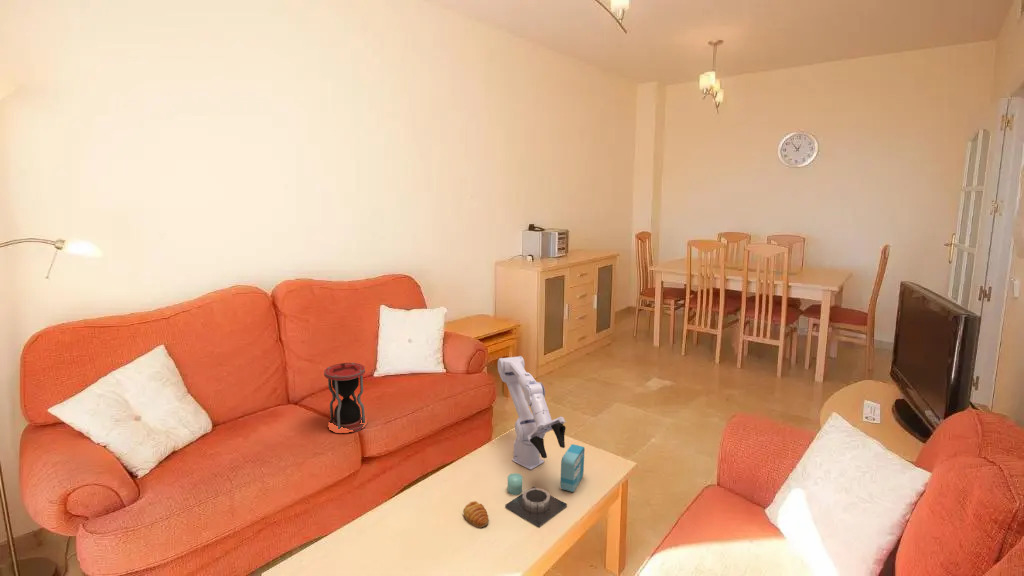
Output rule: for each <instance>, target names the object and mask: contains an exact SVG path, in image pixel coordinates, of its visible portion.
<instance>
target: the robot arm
mask: <svg viewBox="0 0 1024 576" xmlns="http://www.w3.org/2000/svg"><path fill="white" fill-rule="evenodd" d="M525 365H526V363H525V359H524V358H523V356H522V355H519V356H510V357H499V358H498V360H497V372H498V374H499V377H500V379H501V382H503V383H505V384H506V386H507V389H508V392H509V395H510V397H511V400H512V402H513V405H514V407H515V411H516V413H517V416H518V418H517V419H516V420H515V424H514V431H515V435H516V436H515V437H516V438H515V439H514V442H513V458H512V459H511V461H512V462H514V463H515V464H518V465H520V466H522V467H524V468H526V469H528V470H531V471H532V470H534V469H535V468H536V467H539V466H540V465H542V464H544V462H545V460H544V459H547V458H548V456H547V455H548V454H547V452H546V449H545V439H544V438H545V436H546V434H547V433H549V432H550V431H553V433H554V435H555V437H556V439H557V443H558V446H559V447H560V448H561V449H564V448H565V447H566V444H565V443H566V442H565V434H566V430H567V429H566V425H564V424H565V423H566V420H565V417H563V416H559V417H557V418H554V419H552V416H551V414H550V409H549V407H548V404H547V401H546V399H545V398H546V389H545V386H544V384H543V382H541V381H538V382H537V381H536V379H535V378H534V377H533V374H531V373H529V372H527V371H526V369H525V368H526V367H525ZM540 457H541V458H540Z"/></svg>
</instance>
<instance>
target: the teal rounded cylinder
mask: <svg viewBox="0 0 1024 576" xmlns="http://www.w3.org/2000/svg"><path fill="white" fill-rule="evenodd" d="M523 478H524V477H523V475H522V474H520V473H516V472H514V473H509V474H508V475H507V493H508V494H509V495H512V496H520V495H521V494H523Z"/></svg>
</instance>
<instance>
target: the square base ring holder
mask: <svg viewBox="0 0 1024 576" xmlns="http://www.w3.org/2000/svg"><path fill="white" fill-rule="evenodd" d="M567 507H568V504H567V503H566V502H564V501H562V500H560V499H558V498H557V497H554V496H552V495H550V493H549V492H548V490H546V489H545V490H544V489H543V488H537V487H536V486H531V488H528V489H526V490H525V491H523V492H522V493H521V494H519V495H517V497H515V498H513V499H512V500H510V501H509V502H508V503H506V504H505V509H507V510H509V511H510V512H512V513H514V514H516V515H517V516H519V517H521V518H522V519H524V520H526V521H527V522H530V523H531V524H533V526H536V527H538V528H541V527H542V526H543V525H544V524H546V523H547V522H548V521H550V520H551V519H552V518H554V517H555V516H556V515H557V514H559V513H561V512H562V511H563V510H564V509H566V508H567Z"/></svg>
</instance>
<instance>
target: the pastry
mask: <svg viewBox="0 0 1024 576" xmlns="http://www.w3.org/2000/svg"><path fill="white" fill-rule="evenodd" d="M462 512H463V516H464V519H465V520H466V521H467V522H468V523H470V524H471V525H473V526H474V527H476V528H482V527H483V528H484V527H486V526H487V525H488V523H489V522H490V520H489V515H488V512H487V509H486V508H485V506H484V505H483V504H482V503H479V502H478V501H469V503H467V504H466V505H465V507H464V508H463V510H462Z"/></svg>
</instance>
